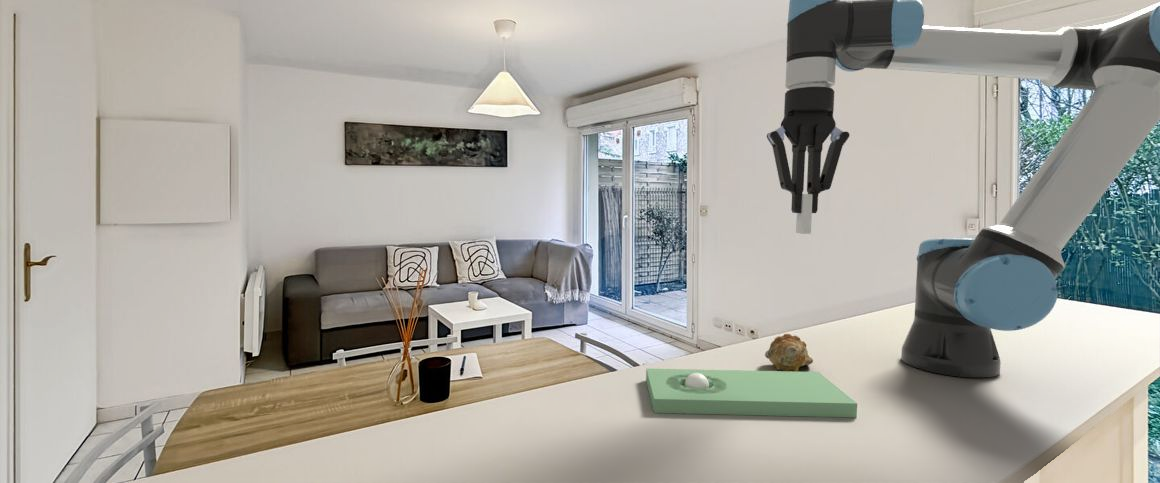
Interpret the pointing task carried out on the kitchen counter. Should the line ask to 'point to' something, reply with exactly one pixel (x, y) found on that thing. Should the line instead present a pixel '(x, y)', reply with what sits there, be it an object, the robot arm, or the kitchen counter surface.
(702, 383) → the ball
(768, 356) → the seashell
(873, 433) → the kitchen counter surface
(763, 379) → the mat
